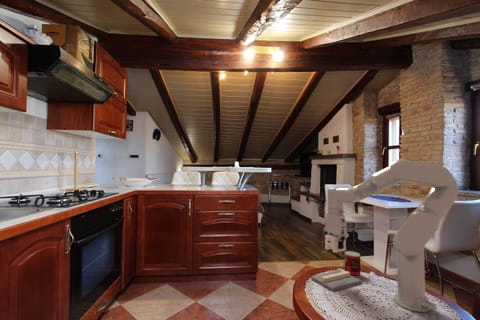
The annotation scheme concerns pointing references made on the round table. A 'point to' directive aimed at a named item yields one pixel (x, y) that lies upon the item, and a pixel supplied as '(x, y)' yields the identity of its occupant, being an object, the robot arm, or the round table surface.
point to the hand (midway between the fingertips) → (335, 246)
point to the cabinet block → (333, 243)
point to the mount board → (336, 280)
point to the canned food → (352, 263)
